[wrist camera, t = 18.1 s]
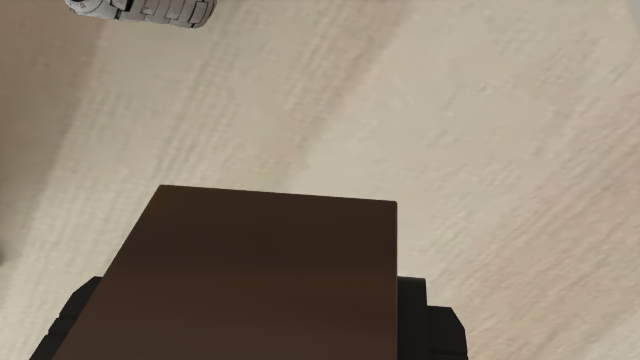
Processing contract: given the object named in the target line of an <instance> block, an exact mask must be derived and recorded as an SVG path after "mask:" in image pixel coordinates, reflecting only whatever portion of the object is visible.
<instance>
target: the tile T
mask: <svg viewBox="0 0 640 360" xmlns="http://www.w3.org/2000/svg"><path fill="white" fill-rule="evenodd" d="M52 360H397V202H396V201H388V200H374V199H359V198H345V197H331V196H317V195H303V194H289V193H275V192H261V191H246V190H232V189H218V188H204V187H190V186H176V185H159V187H158V188H157V190H156V192H155V193H154V195H153V197H152V198H151V200H150V201H149V203H148V205H147V206H146V208H145V210H144V211H143V213H142V214H141V216H140V218H139V219H138V221H137V223H136V224H135V226H134V227H133V229H132V231H131V232H130V234H129V235H128V237H127V239H126V240H125V242H124V244H123V245H122V247H121V248H120V250H119V252H118V253H117V255H116V257H115V258H114V260H113V261H112V263H111V265H110V266H109V268H108V269H107V271H106V273H105V274H104V276H103V278H102V279H101V281H100V282H99V284H98V286H97V287H96V289H95V291H94V292H93V294H92V295H91V297H90V299H89V300H88V302H87V304H86V305H85V307H84V308H83V310H82V312H81V313H80V315H79V316H78V318H77V320H76V321H75V323H74V325H73V326H72V328H71V329H70V331H69V333H68V334H67V336H66V338H65V339H64V341H63V342H62V344H61V346H60V347H59V349H58V350H57V352H56V354H55V355H54V357H53V359H52Z"/></svg>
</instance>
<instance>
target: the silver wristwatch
mask: <svg viewBox="0 0 640 360" xmlns="http://www.w3.org/2000/svg"><path fill="white" fill-rule="evenodd" d="M64 1H65V2H66V3H67V4H68V5H69V6H70V11H71V12H72V13H73V14H76V15H82V16H86V15H87V16H92V17H96V18H104V19H116V18H117V20H118V21H127V22H131V21H145V22H152V23H161V24H170V25H175V26H179V27H183V28H199V27H202V26H203V25H204V24H205V23H206V22H207V20H208V19H209V18H210V17H211V15H212V13H213V11H214V9H215V7H216V5H217V0H64Z"/></svg>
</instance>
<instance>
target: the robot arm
mask: <svg viewBox="0 0 640 360" xmlns="http://www.w3.org/2000/svg"><path fill="white" fill-rule="evenodd" d="M102 278H103V277H97V276H94V277H93V278H91V279H90V280H89V281H88V282H86V283H85V284H84V285H83V286H81V287H80V288H79V289H77V290H76V291H75V292H74V293H73V294H72V295H71V297H70V298H69V300H68V301H67V303H66V304H65V306H64V307H63V309H62V310H61V312H60V313H59V318H56V320H55V321H54V323H53V324H52V326H51V327H50V329H49V330H48V335H45V336H44V338H43V339H42V341H41V342H40V344H39V345H38V347H37V348H36V350H35V351H34V353H33V355H32V356H31V358H30V359H29V360H52V359H53V357H54V355H55V354H56V352H57V350H58V349H59V347H60V346H61V344H62V342H63V341H64V339H65V338H66V336H67V334H68V333H69V331H70V329H71V328H72V326H73V325H74V323H75V321H76V320H77V318H78V316H79V315H80V313H81V312H82V310H83V308H84V307H85V305H86V304H87V302H88V300H89V299H90V297H91V295H92V294H93V292H94V291H95V289H96V287H97V286H98V284H99V282H100V281H101V279H102ZM397 360H468V357H467V344H466V336H465V329H464V327H463V325H462V324H461V322H460V321H459V319H458V318H457V316H456V314H455V313H454V311H453V310H452V308H451V307H439V306H428V305H427V295H426V281H425V278H414V277H402V276H397Z"/></svg>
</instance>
